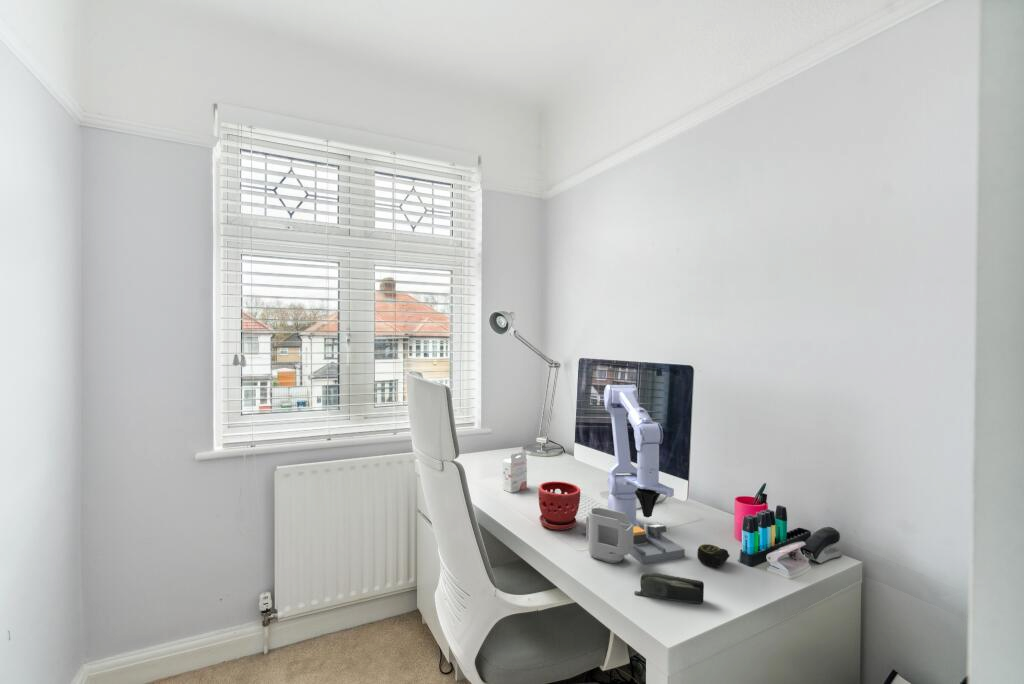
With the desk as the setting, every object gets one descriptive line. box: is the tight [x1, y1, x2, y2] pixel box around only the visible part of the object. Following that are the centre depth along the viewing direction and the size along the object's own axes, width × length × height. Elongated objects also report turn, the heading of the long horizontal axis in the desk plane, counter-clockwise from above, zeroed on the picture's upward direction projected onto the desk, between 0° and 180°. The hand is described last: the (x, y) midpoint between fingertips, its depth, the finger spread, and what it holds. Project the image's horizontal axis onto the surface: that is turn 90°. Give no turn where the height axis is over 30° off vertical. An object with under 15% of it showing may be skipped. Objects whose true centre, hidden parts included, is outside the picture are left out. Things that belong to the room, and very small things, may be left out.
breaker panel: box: [628, 521, 686, 565], centre depth 132 cm, size 17×13×5 cm
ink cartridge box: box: [502, 451, 528, 494], centre depth 182 cm, size 9×5×15 cm, turn 132°
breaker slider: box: [633, 526, 646, 544], centre depth 131 cm, size 4×4×3 cm
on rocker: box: [640, 522, 668, 533], centre depth 135 cm, size 8×3×2 cm, turn 19°
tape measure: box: [697, 543, 731, 568], centre depth 123 cm, size 7×7×4 cm
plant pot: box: [538, 481, 581, 531], centre depth 147 cm, size 13×13×12 cm
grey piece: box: [585, 507, 633, 564], centre depth 125 cm, size 7×12×12 cm, turn 56°
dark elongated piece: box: [634, 572, 705, 605], centre depth 106 cm, size 5×3×15 cm
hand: (647, 516), depth 129 cm, fingers closed
